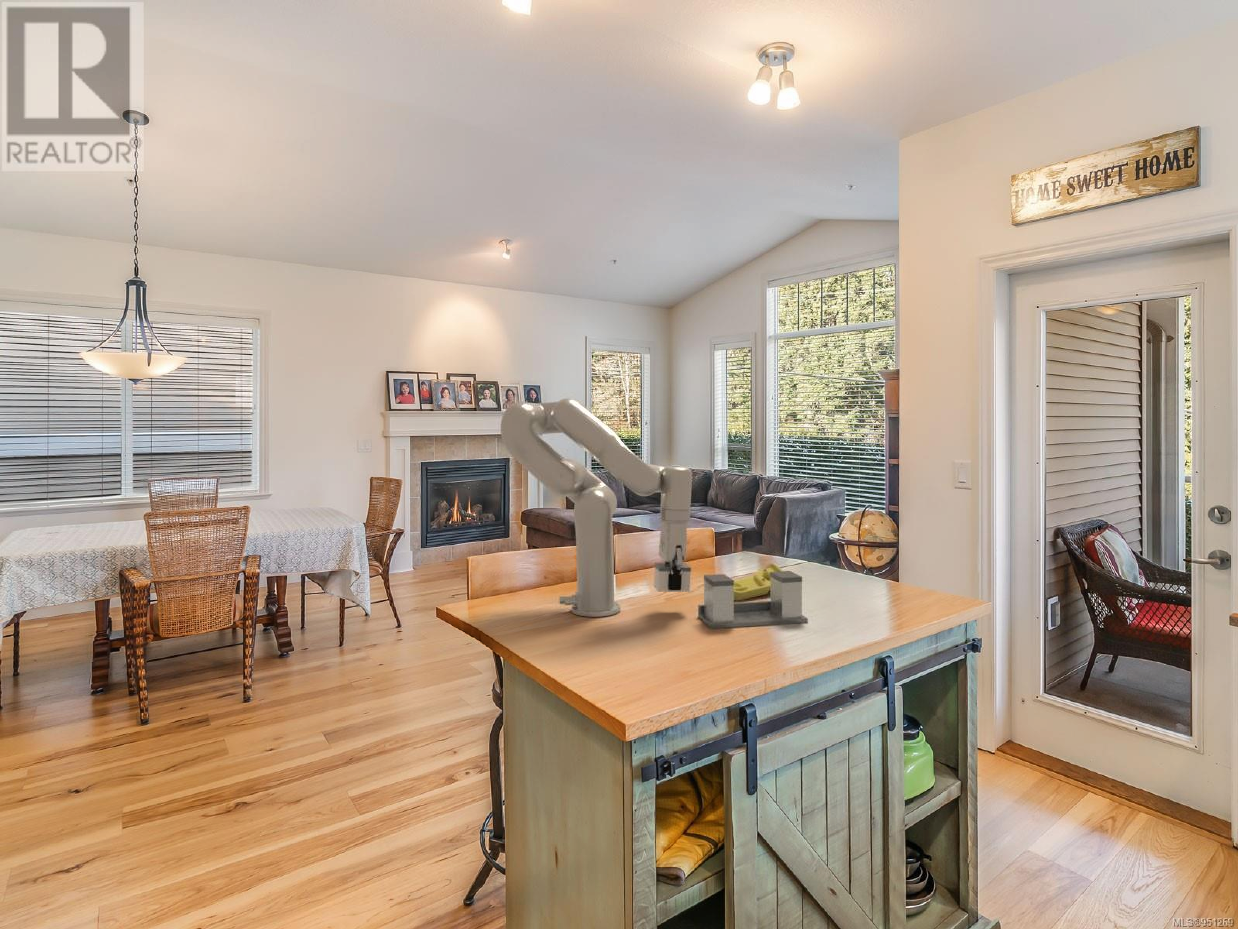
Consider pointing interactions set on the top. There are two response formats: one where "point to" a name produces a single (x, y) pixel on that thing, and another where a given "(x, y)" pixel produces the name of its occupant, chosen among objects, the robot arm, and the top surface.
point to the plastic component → (754, 584)
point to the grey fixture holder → (752, 603)
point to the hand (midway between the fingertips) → (671, 586)
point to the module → (663, 575)
